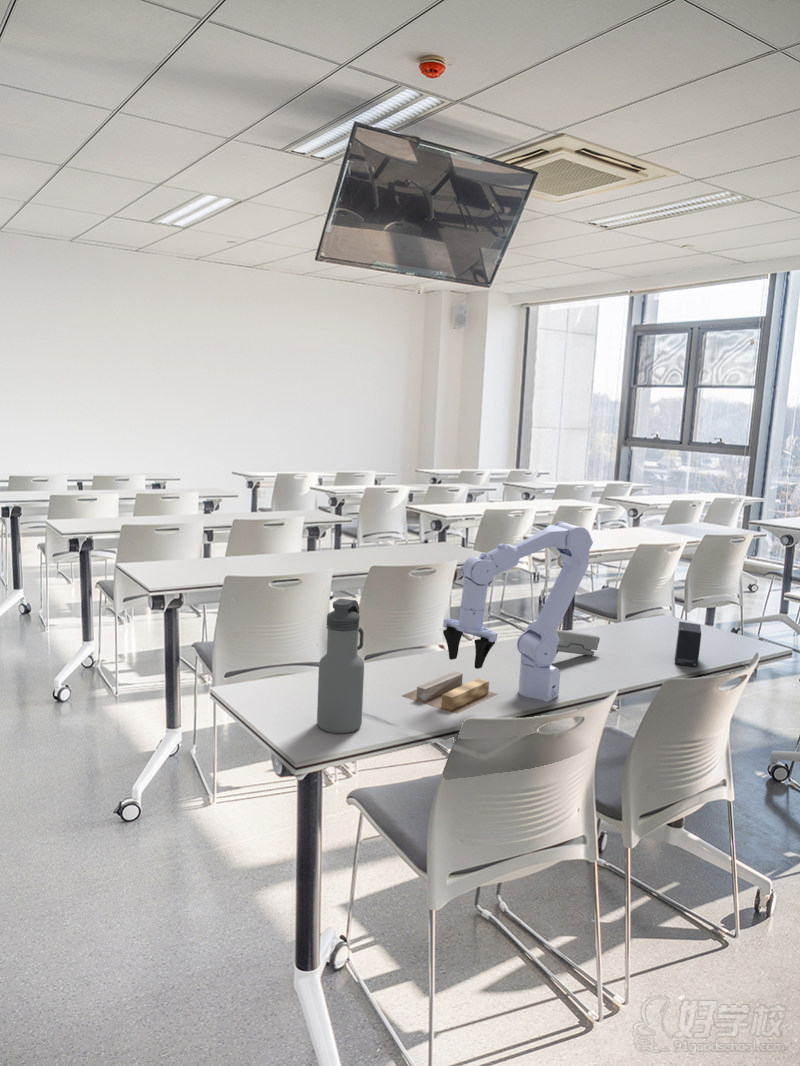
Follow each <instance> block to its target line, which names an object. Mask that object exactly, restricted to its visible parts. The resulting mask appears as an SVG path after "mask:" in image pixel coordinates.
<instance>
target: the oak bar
mask: <svg viewBox="0 0 800 1066" xmlns="http://www.w3.org/2000/svg"><path fill="white" fill-rule="evenodd" d="M464 684H465V685H462V686H460V687H458V688H455V689H453V690H451V691H448V692H446V693H444V694H442V702H441V707H444V708H447V709H450V710H453V709H455V708H457V707H459V706H462V705H464V704H466V703H468V702H470V701H472V700H474V699H476V698H479V697H481V696H483V695H485V694H487V693H488V692H490V690H489V689H490V688H489V687H490V681H489V680H487V679H482V678H475V679H474V680H471V681H469V682H468V683H464Z"/></svg>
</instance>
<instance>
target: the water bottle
mask: <svg viewBox="0 0 800 1066" xmlns="http://www.w3.org/2000/svg"><path fill="white" fill-rule="evenodd" d="M332 609H334V610H332V611H330V612H328V613H327V615H326V629H327V644H326V654H324V655H323V656H322V657H321V658H320V659H319V662H318V663H319V664H318V682H317V685H318V686H317V709H316V710H317V712H316V723H317V726H318V727H319V728H320V729H322V731H325V732H327V733H332V734H348V733H352V732H355V731H357V730H358V729H360V728H361V725H362V723H363V701H364V680H365V679H364V678H365V676H364V675H365V662H364V660H363V658H362V657H361V656H359V655H358V651H360V650H361V649H362V648H363V647H364V633H365V632H364V630H363V628H362V627H360V619H361V616H360V606H359V603H358V601H357V600H356V599H349V598H348V599H347V598H338V599H336V600H335V601H333V602H332ZM358 642H359V645H358Z"/></svg>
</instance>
